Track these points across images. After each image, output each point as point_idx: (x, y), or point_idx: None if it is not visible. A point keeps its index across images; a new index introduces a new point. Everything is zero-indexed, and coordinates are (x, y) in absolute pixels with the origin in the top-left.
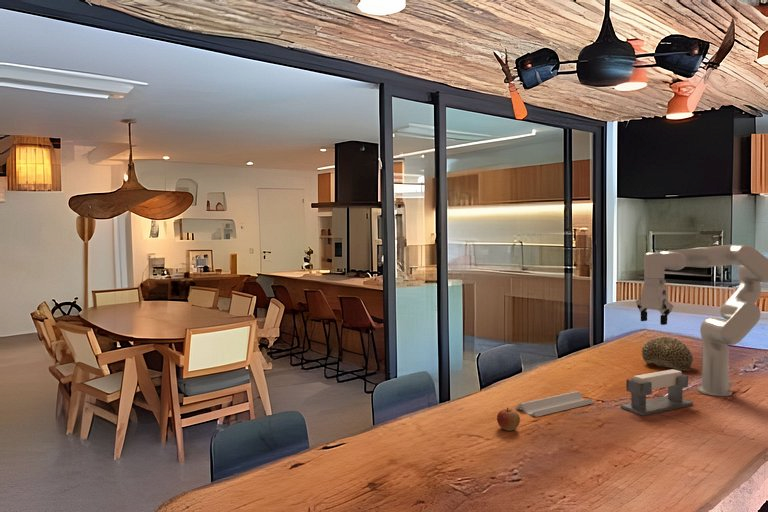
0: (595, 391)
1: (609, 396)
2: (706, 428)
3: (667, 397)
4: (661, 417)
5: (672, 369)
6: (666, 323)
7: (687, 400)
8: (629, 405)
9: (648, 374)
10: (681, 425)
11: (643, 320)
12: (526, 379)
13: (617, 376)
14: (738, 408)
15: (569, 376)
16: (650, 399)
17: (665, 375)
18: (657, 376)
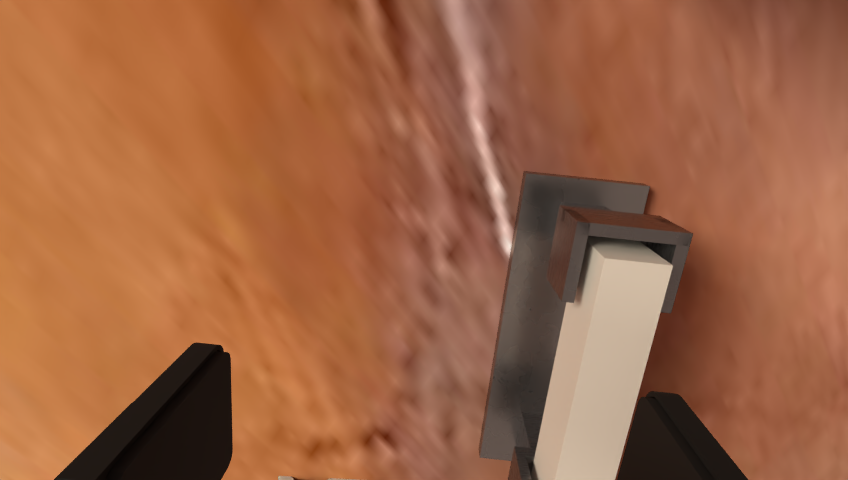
0: (277, 360)
1: (357, 370)
2: (795, 400)
3: (538, 222)
4: (631, 422)
5: (606, 265)
6: (676, 411)
7: (621, 187)
8: (503, 438)
9: (573, 468)
10: (719, 438)
11: (227, 439)
12: (9, 451)
13: (120, 47)
14: (816, 46)
15: (29, 267)
16: (508, 311)
17: (634, 397)
18: (620, 454)
